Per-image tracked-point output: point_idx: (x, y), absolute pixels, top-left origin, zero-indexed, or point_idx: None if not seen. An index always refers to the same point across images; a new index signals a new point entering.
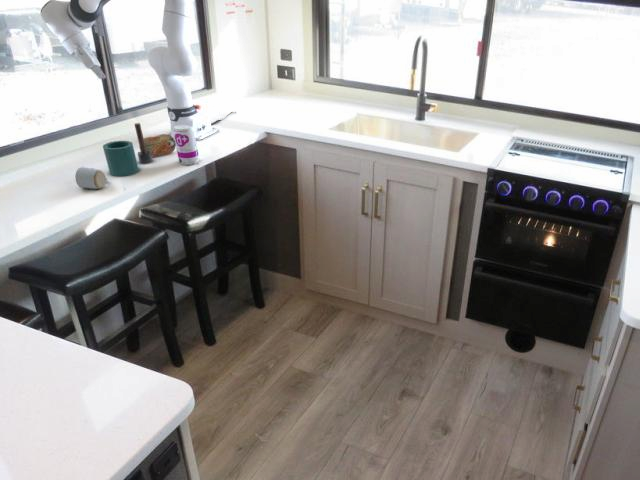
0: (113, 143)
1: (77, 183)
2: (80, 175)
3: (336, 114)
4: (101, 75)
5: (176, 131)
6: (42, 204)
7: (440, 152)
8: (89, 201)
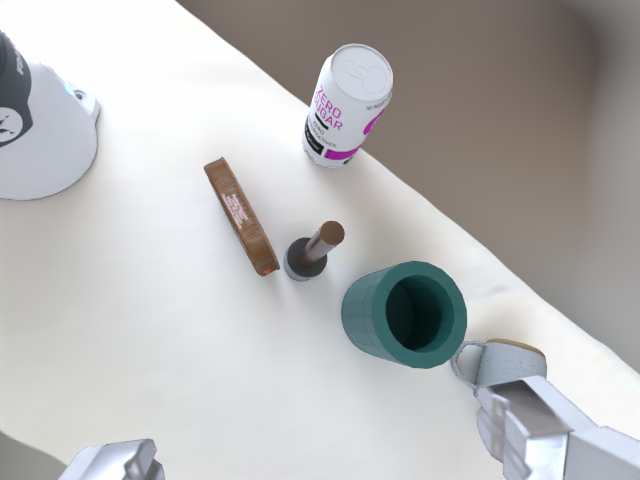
0: (391, 335)
1: None
2: None
3: None
4: (558, 398)
5: (386, 100)
6: None
7: None
8: (564, 359)
